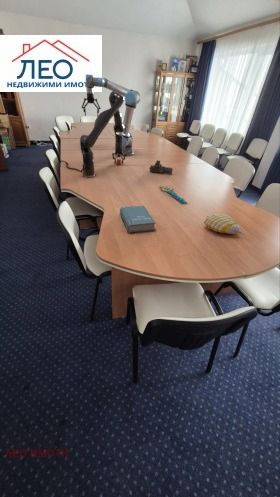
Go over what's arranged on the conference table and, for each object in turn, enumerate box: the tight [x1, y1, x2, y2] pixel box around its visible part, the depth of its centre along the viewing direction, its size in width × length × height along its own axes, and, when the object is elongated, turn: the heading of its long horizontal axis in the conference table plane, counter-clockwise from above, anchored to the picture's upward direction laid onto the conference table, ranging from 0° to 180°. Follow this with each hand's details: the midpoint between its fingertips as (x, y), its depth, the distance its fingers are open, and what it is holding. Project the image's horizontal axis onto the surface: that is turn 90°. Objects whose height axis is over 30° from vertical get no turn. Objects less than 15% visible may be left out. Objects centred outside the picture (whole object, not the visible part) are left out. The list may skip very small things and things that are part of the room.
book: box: [119, 205, 156, 233], centre depth 136 cm, size 23×16×5 cm
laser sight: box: [148, 160, 173, 175], centre depth 216 cm, size 10×22×10 cm, turn 78°
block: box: [116, 158, 122, 166], centre depth 232 cm, size 4×4×5 cm
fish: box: [203, 213, 245, 235], centre depth 133 cm, size 25×8×20 cm
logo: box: [159, 185, 188, 204], centre depth 175 cm, size 34×10×1 cm, turn 16°
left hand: (118, 163), depth 233 cm, fingers open, 6 cm apart
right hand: (91, 116), depth 247 cm, fingers open, 13 cm apart
